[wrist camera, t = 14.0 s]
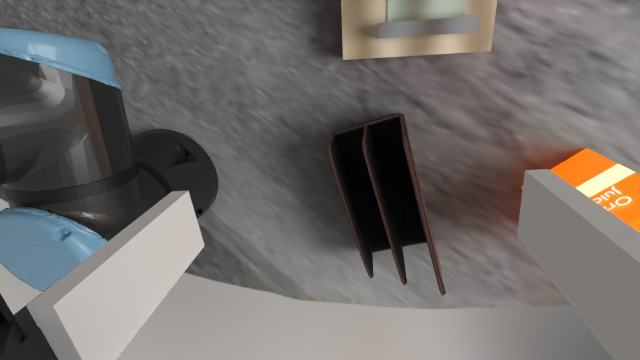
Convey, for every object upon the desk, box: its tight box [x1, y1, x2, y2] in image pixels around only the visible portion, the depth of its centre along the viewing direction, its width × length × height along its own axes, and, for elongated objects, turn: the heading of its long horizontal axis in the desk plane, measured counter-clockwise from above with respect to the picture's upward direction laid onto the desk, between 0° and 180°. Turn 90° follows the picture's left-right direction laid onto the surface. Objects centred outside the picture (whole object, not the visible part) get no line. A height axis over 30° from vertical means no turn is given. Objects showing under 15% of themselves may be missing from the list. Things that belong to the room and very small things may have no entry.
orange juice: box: [521, 148, 640, 232], centre depth 35 cm, size 8×9×20 cm
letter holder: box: [328, 114, 446, 295], centre depth 42 cm, size 10×20×14 cm, turn 19°
